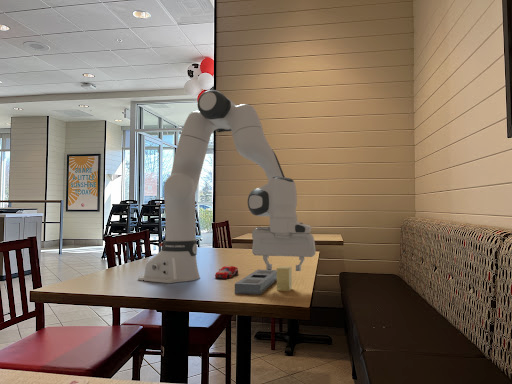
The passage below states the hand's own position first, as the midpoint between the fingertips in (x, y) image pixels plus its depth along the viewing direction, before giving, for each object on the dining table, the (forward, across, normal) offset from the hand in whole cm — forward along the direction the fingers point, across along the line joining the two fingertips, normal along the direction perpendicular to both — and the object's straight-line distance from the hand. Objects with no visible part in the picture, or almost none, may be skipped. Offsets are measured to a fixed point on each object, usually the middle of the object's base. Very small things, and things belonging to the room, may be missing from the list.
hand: (283, 270), depth 120 cm
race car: (+7, -26, +19) cm, 32 cm away
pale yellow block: (+6, 0, 0) cm, 6 cm away
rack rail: (+6, -10, +5) cm, 12 cm away
